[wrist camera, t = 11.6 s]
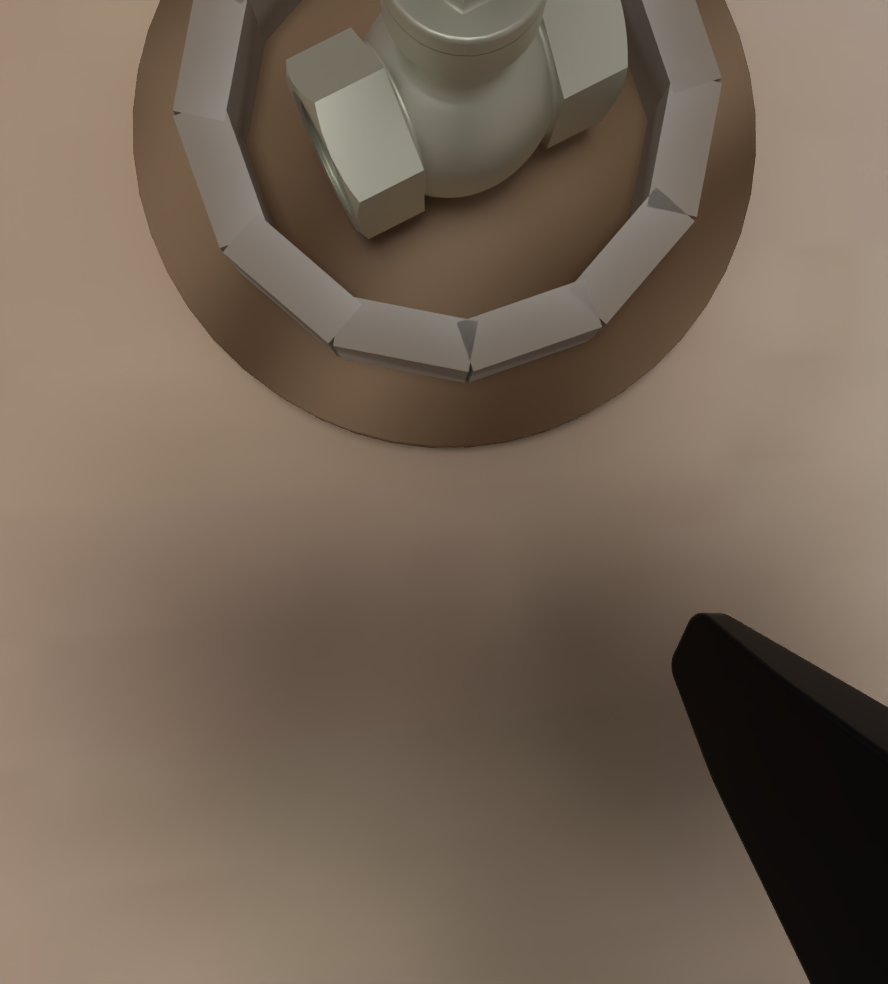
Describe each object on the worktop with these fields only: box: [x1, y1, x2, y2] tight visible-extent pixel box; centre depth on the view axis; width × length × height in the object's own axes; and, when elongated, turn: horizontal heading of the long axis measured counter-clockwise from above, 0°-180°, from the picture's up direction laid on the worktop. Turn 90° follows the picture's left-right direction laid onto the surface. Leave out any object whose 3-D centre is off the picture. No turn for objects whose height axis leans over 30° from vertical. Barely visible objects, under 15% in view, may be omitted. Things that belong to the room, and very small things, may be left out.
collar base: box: [133, 0, 756, 448], centre depth 16 cm, size 16×16×2 cm
